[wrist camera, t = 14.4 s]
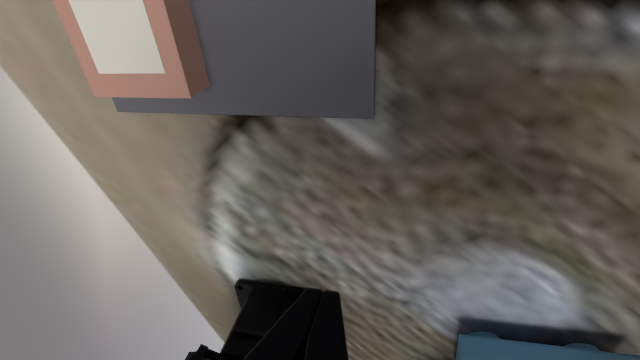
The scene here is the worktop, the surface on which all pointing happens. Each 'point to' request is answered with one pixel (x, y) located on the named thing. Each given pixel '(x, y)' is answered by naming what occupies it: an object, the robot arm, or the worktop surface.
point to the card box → (136, 47)
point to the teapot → (527, 350)
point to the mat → (280, 60)
